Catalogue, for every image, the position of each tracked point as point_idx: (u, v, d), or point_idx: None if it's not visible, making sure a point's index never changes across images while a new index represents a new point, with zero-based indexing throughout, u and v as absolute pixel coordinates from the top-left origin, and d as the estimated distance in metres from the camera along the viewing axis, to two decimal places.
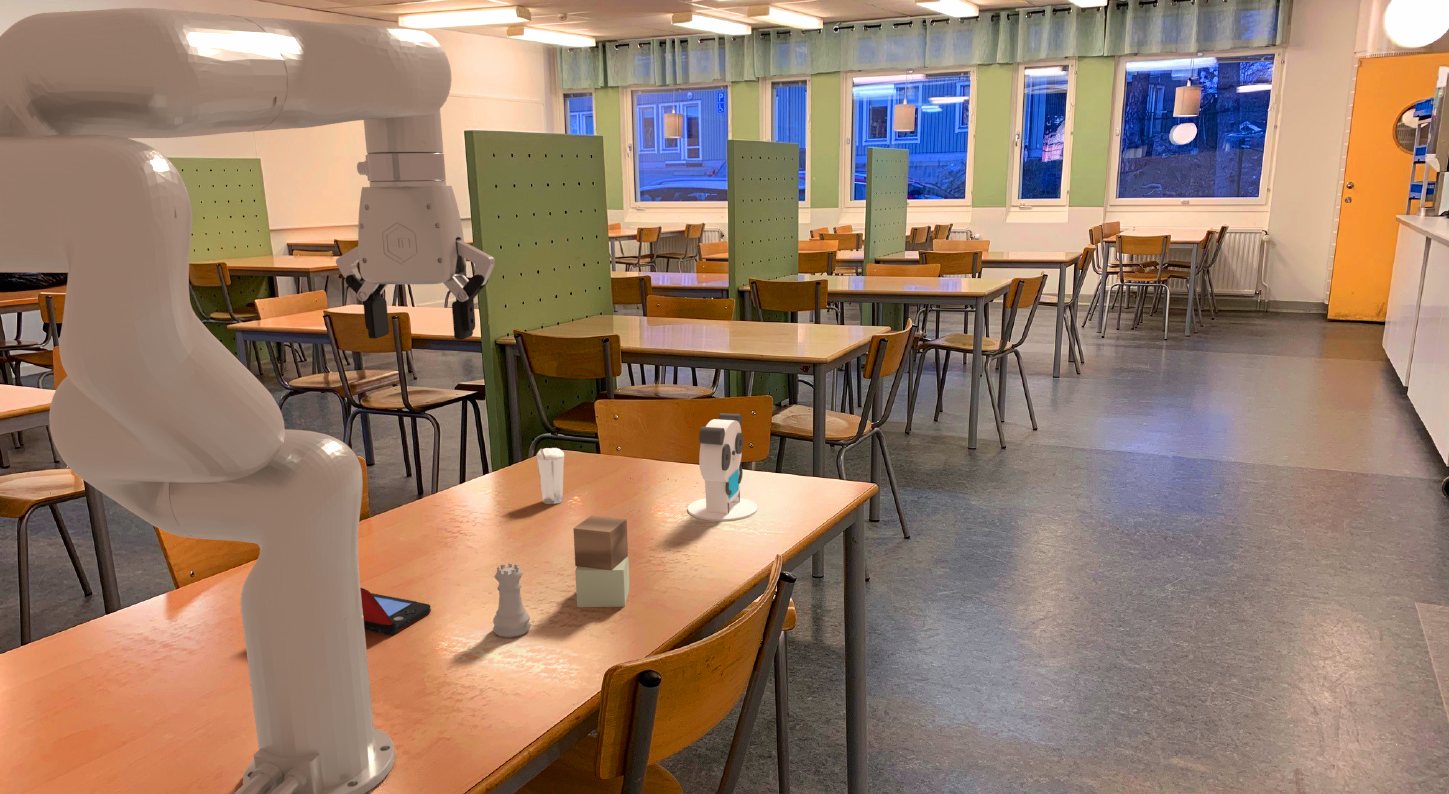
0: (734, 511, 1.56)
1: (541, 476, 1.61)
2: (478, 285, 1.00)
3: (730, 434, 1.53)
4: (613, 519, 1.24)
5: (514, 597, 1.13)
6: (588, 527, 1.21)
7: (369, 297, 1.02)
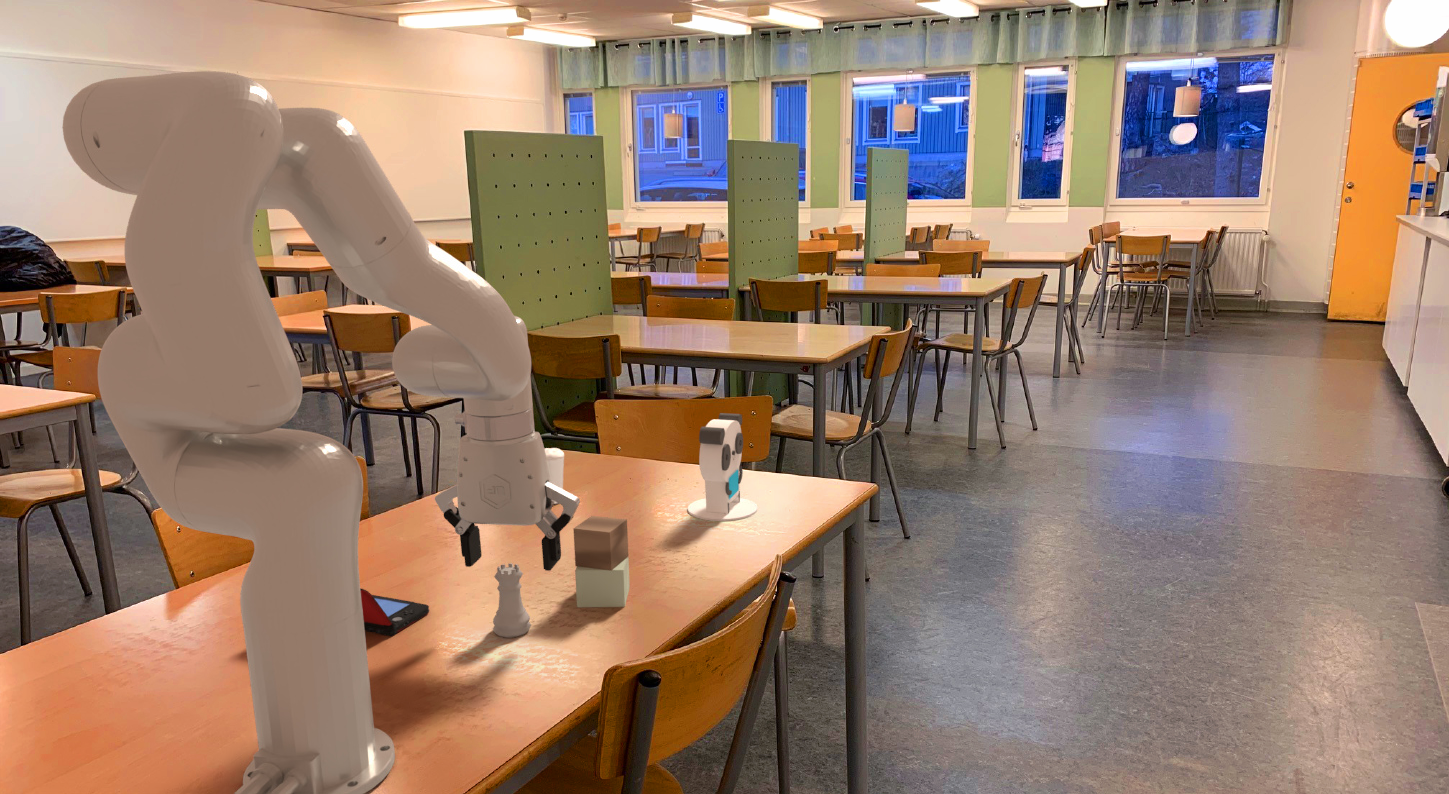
0: (734, 511, 1.56)
1: None
2: (565, 524, 1.11)
3: (730, 434, 1.53)
4: (613, 519, 1.24)
5: (514, 597, 1.13)
6: (588, 527, 1.21)
7: (465, 531, 1.13)
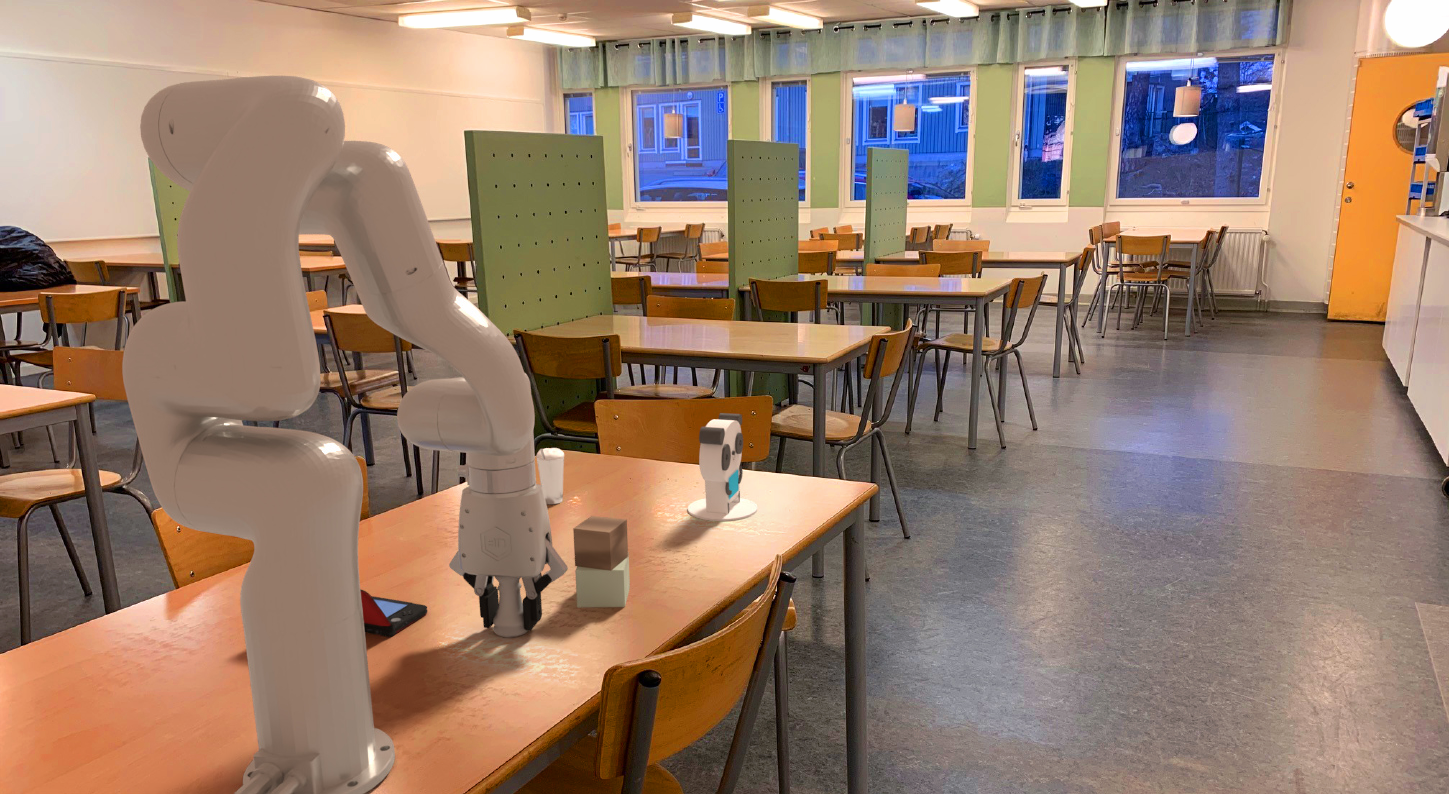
0: (734, 511, 1.56)
1: (541, 476, 1.61)
2: (546, 585, 1.12)
3: (730, 434, 1.53)
4: (613, 519, 1.24)
5: (514, 597, 1.13)
6: (588, 527, 1.21)
7: (484, 592, 1.14)
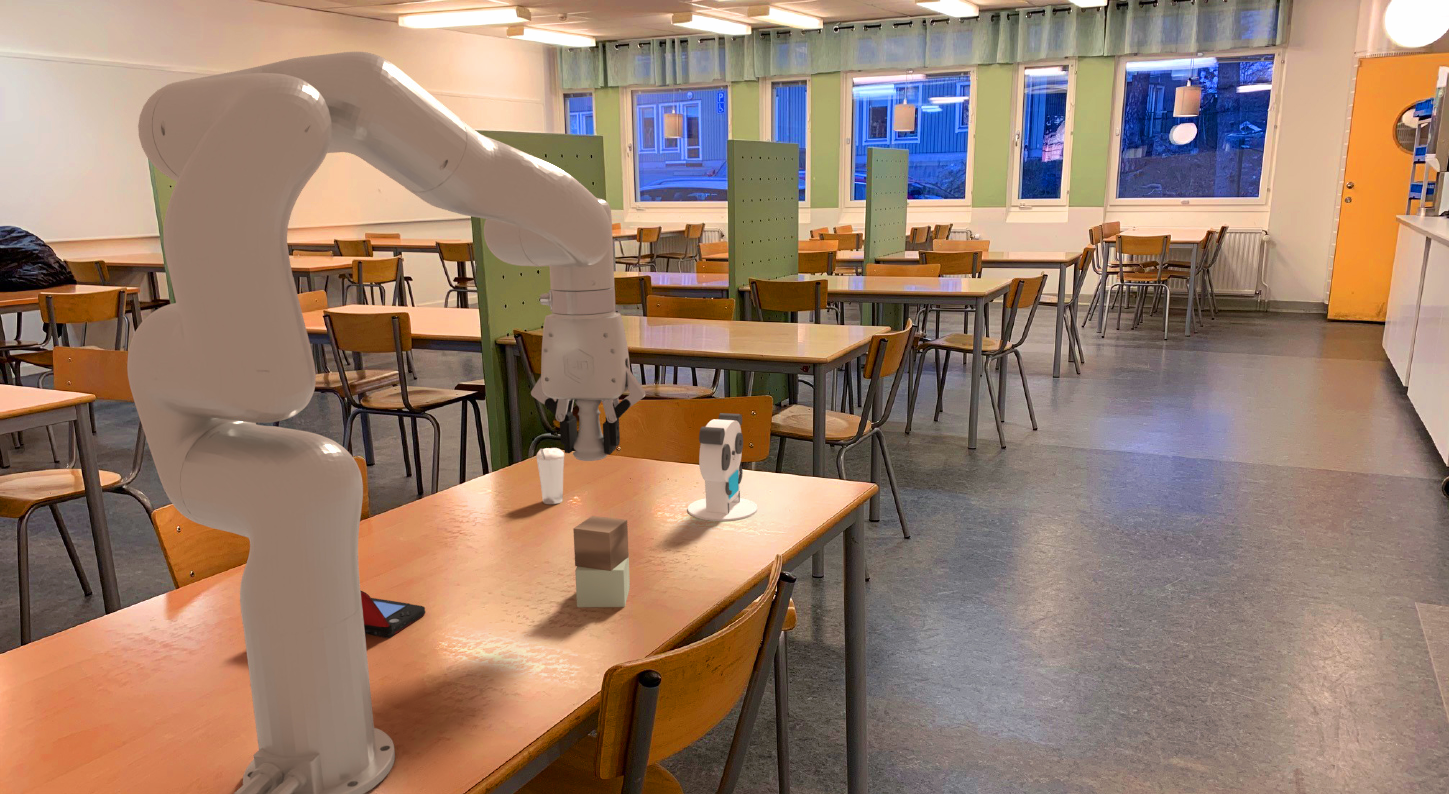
0: (734, 511, 1.56)
1: (541, 476, 1.61)
2: (625, 409, 1.17)
3: (730, 434, 1.53)
4: (614, 520, 1.24)
5: (594, 422, 1.18)
6: (588, 528, 1.21)
7: (565, 418, 1.18)
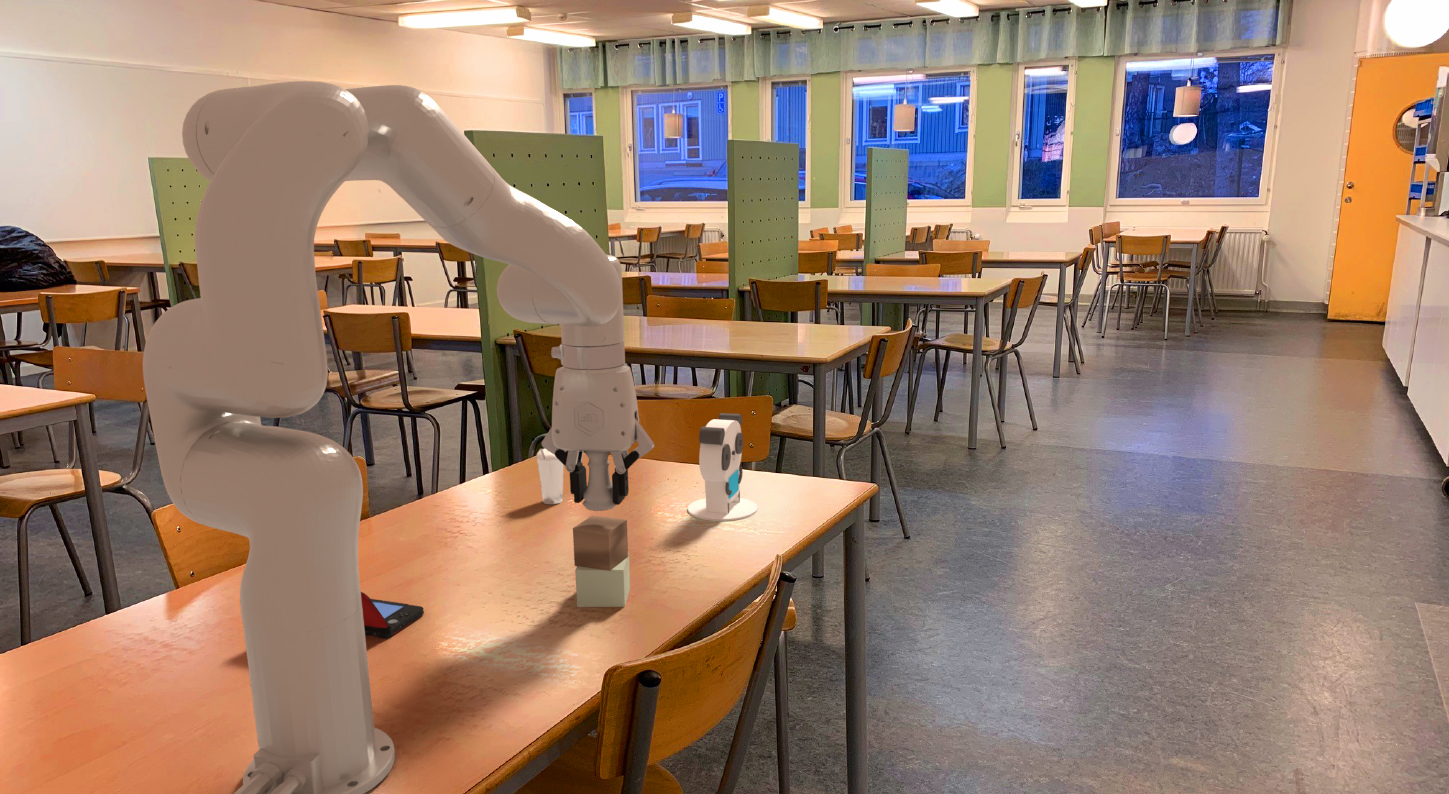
0: (734, 511, 1.56)
1: (541, 476, 1.61)
2: (634, 460, 1.19)
3: (730, 434, 1.53)
4: (613, 519, 1.24)
5: (603, 472, 1.20)
6: (588, 527, 1.21)
7: (575, 468, 1.20)
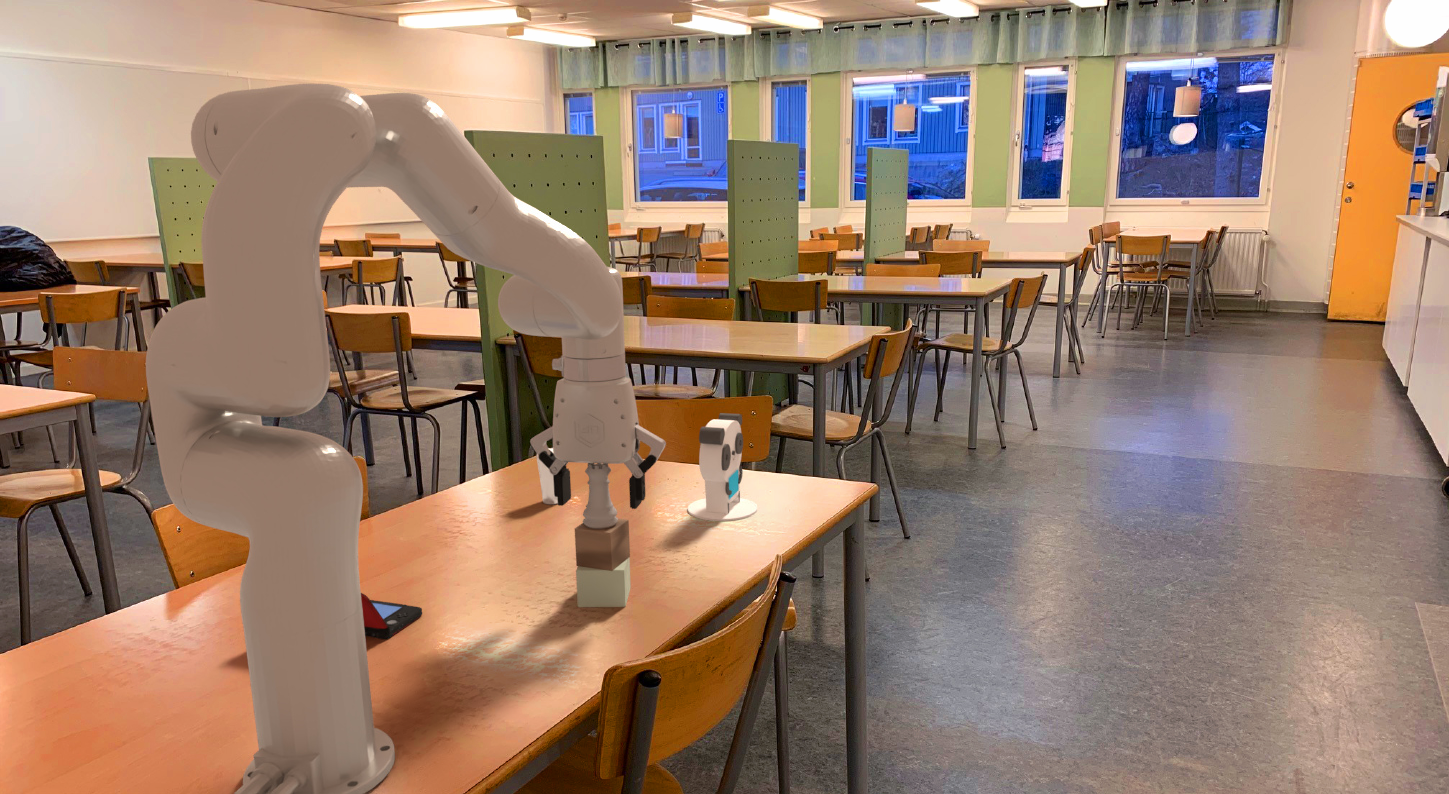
0: (734, 511, 1.56)
1: (541, 476, 1.61)
2: (652, 464, 1.19)
3: (730, 434, 1.53)
4: None
5: (603, 491, 1.20)
6: (589, 528, 1.21)
7: (559, 471, 1.21)
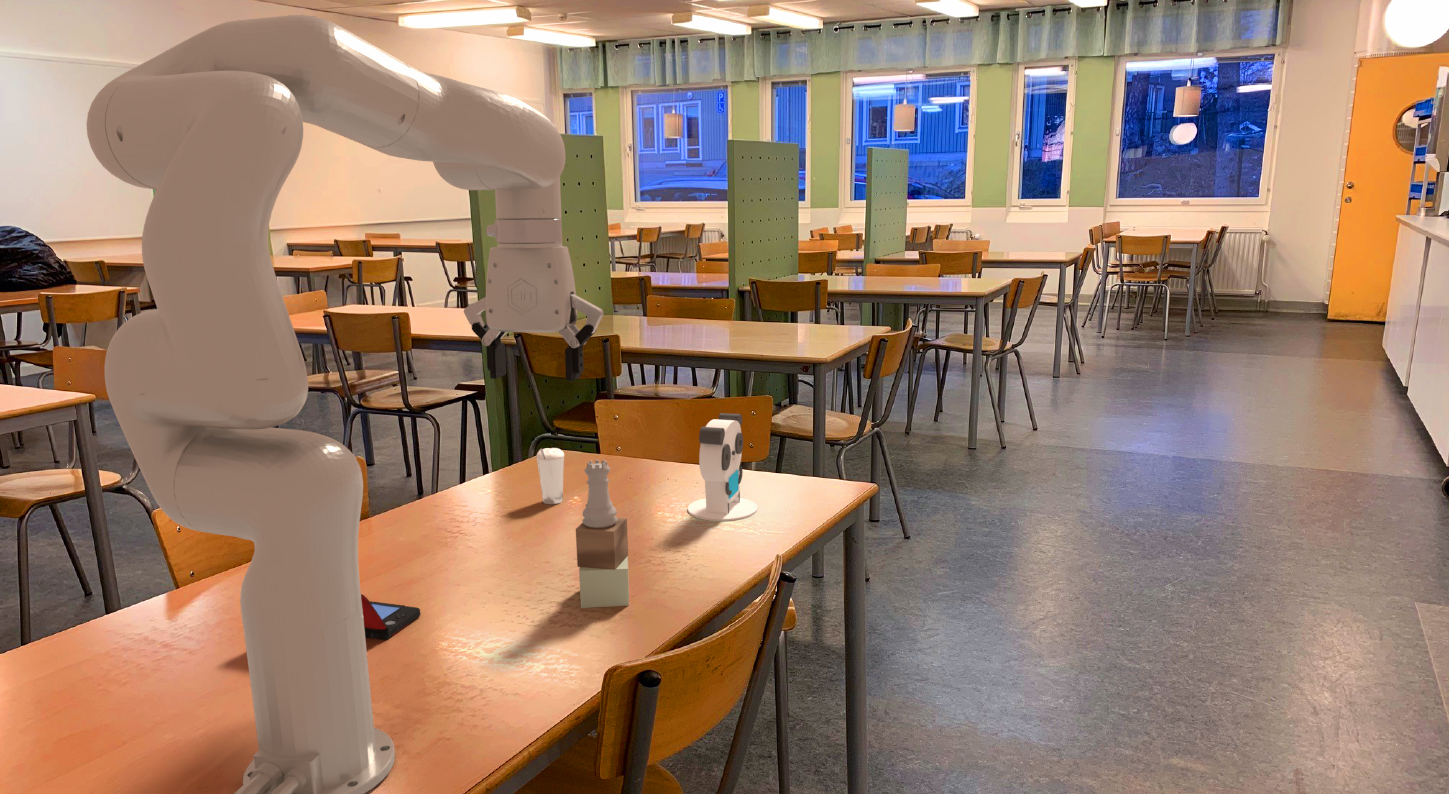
0: (734, 511, 1.56)
1: (541, 476, 1.61)
2: (588, 334, 1.14)
3: (730, 434, 1.53)
4: None
5: (604, 490, 1.21)
6: None
7: (492, 342, 1.17)
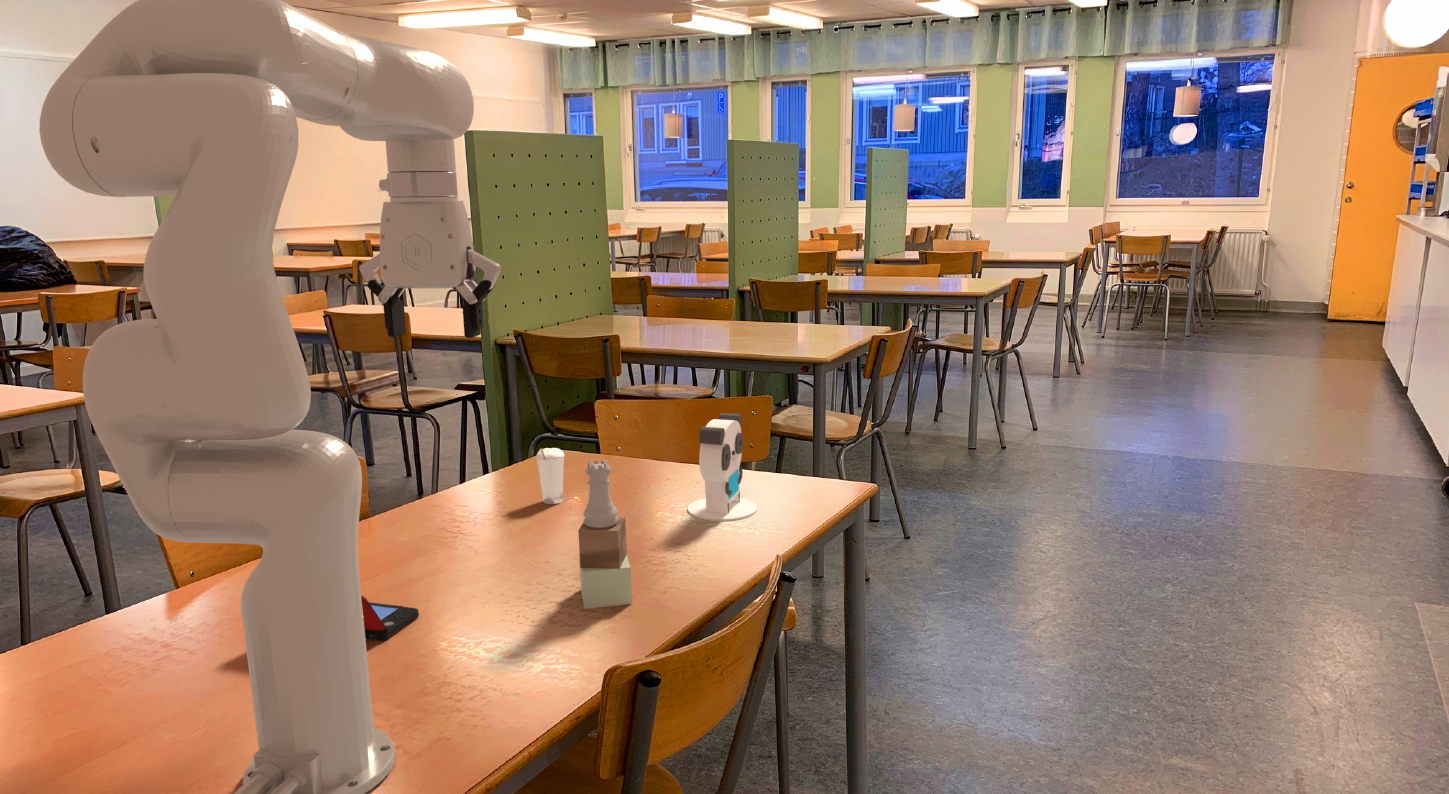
0: (734, 511, 1.56)
1: (541, 476, 1.61)
2: (486, 289, 1.12)
3: (730, 434, 1.53)
4: None
5: (606, 490, 1.21)
6: None
7: (388, 300, 1.15)
